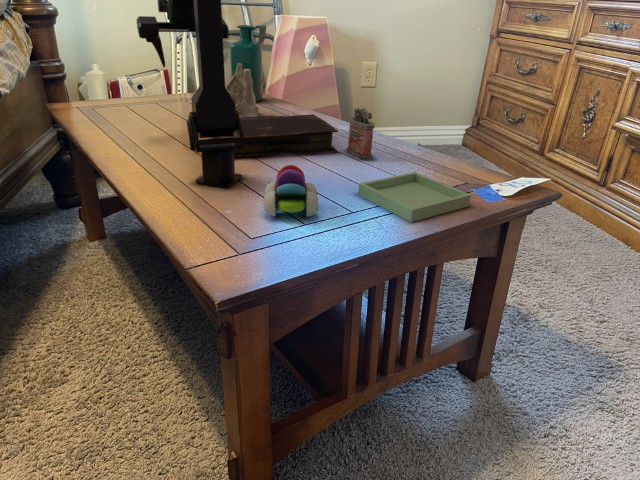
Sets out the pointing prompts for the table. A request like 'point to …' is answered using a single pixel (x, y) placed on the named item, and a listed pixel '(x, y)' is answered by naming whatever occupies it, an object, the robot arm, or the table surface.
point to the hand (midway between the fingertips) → (185, 66)
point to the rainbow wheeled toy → (290, 193)
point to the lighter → (360, 134)
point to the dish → (414, 196)
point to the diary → (285, 135)
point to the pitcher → (249, 56)
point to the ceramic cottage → (243, 93)
